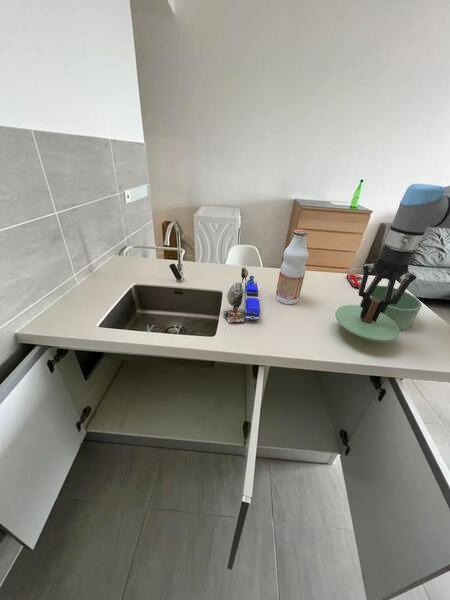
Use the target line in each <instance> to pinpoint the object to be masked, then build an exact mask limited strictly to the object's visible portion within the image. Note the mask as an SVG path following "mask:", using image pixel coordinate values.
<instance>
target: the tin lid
mask: <svg viewBox="0 0 450 600" xmlns="http://www.w3.org/2000/svg"><path fill="white" fill-rule="evenodd" d="M380 303H381V300H380V299H378V298H375V297H371V298H370V303H369V306H368V308H367V310H366V312H365V315H364V317H363V318H360V313H361V311H362V309H363V308H362V307H361V306H360V305H357V304H346V305H342V306H340V307H337V309H336V311H335V313H334V314H335V319H336V321H337V323H338V324H339V325H341V327H343V329H345V330H347V331H348V332H350V333H351V334H353V335H356V336H358V337H360V338H363V339H366V340H369V341H375V342H392V341H394V340H396V339H397V338H398V337H399V336H400V334H401V330H400V329H399V327H398V325H397V324H396V323H395V322H394V321H393V320H392V319H391V318H389V317H388V316H386V315H385V314H383V313H381V312H380V314H379V316H378V318H377V321H376V322H374V321H373V318H374V316H375V314H376V312H377V310H378V308H379V306H380Z"/></svg>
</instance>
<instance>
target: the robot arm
mask: <svg viewBox="0 0 450 600" xmlns="http://www.w3.org/2000/svg"><path fill="white" fill-rule="evenodd" d="M428 228H437V229H448V230H450V185H447V186H442V185H435V184H428V183H426V184H425V183H413V184H410V185H409V186H407V188H406V190H405V192H404V193H403V196H402V197H401V200H400V202H399V206H398V208H397V211H396V212H395V216H394V219H393V221H392V224H391V225H390V228H389V231H388V233H387V234H386V238H385V240H384V244H383V245H382V247H381V250H380V253H379V255H378V257H377V259H376V260H375V261H374V262H373V263H363V266H362V268H363V274H362V276H361V277H362V281H361V284H360V288H358V296H359V297H362V298H363V299H361V301H362V302H361V301H360V303H361V307H362V308H363V309H362V311H361V313H360V318H363V317H364V315H365V312H366V310H367V308H368V306H369V303H370V296H371V294H372V293H373V291H374V290H375V288H376V287H377V285H379V284H380V282H382V280H387V281H388V282H387V285H386V286H387V289H386V293H385V297H384V301H383V300H381V303H380V306H379V308H378V310H377V312H376V314H375V316H374V318H373V321H374V322H376V321H377V318H378V316H379V314H380V312H381V313H384V312H385V310H386V308H387V306H389V305H390V304H394V305H396V304H397V303H398V301H399V300H400V298H401V296H402V295H403V293H404V292H406V290H407V289H408V287H409V285H410V284H411V283H413V282H414V281H415V280H417V275H416V274H415V272H412V271H410V270H409V265H410V264H411V262H412V259H413V257H414V256H415V250H417V249H418V247H419V246H420V245H419V244H420V243H421V240H422V238H423V236H424V234H425V233H426V230H427V229H428ZM373 269H374V271H375V273H376V274H375V276H374V278H373V279H372V281H371V282H370V284H369V286H368V287H367V288H368V289H367V288H366V286H367V282H368V278H369V275H370V272H372V270H373ZM402 276H403V277H404V278H403V280H402V281H401V283H400V285H399V286H398V288H396V289H397V291H396V292H395V294H394V296H393V297H392V298H391V295H392V291H393V288H395V284H396V281H397V279H399V278H400V277H402ZM366 289H367V291H366ZM365 291H366V292H365Z"/></svg>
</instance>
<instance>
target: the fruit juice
mask: <svg viewBox="0 0 450 600" xmlns="http://www.w3.org/2000/svg"><path fill="white" fill-rule="evenodd" d="M292 235H293V237H292V239H291V240H290V243H289V244H288V246H287V247H286V248H285V249H284V250H283V253H282V254H283V255H282V257H283V261H282V263H281V264H280V268H279V273H278V279H277V285H276V291H275V299H276V301H278V302H280V303H281V304H283V305H284V304H285V305H294V304H297V303H298V302H299V300H300V295H301V292H302V288H303V283H304V279H305V275H306V271H307V270H306V269H307V266H306V263H308V260H309V256H310V253H309V250H308V246H307V237H308V235H309V231H308V230H305V229H293V233H292Z"/></svg>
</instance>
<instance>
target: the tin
mask: <svg viewBox="0 0 450 600" xmlns="http://www.w3.org/2000/svg"><path fill="white" fill-rule="evenodd" d="M367 289H368V287H367V288H365V290H364V292H366V291H367ZM386 289H387V285H381V284H380V285H379V284H378V285H377V287H376V288H375V290H374V291H373V293H372V294H371V296H370V298H371V297H375V298H378V299H380V300H383V301H384V297H385V293H386ZM397 289H398V288H396V287H393V291H392V295H391V298H392V297H393V296H394V294H395V292H396V291H397ZM362 299H363V297H362ZM362 299H361V301H360V303H359V306H361V302H362ZM422 305H423V304H422V302H421V300H420V299H419V298H417V297H416V296H414V295H413V294H411V293H409V292H407V291H405V292H404V293H403V295H402V296H401V298H400V300H399V301H398V303H397V304H396V305H394V304H390V305H389V306H387V308H386V310H385V312H384V313H383V314H385V315H386V316H388V317H389V318H391V319H392V320H393V321H394V322H395V323H396V324H397V325H398V327H399V329H400V331H405V330H407V329H409V328H410V327H411V326H412V324H413V322H414V320H415V318H417V315H418V313H419V312H420V310H421V309H422Z"/></svg>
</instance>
